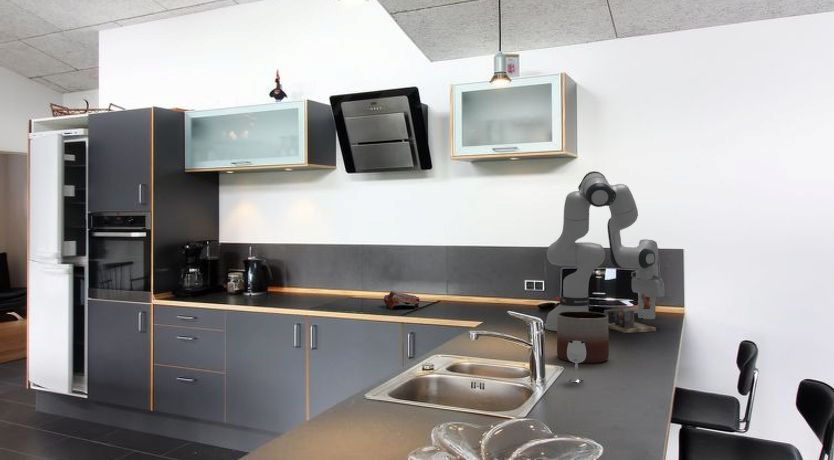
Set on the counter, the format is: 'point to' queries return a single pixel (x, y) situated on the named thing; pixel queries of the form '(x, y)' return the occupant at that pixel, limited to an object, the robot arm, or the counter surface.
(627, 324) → the press base
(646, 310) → the lever
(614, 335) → the counter surface
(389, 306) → the meat
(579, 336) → the planter
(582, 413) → the counter surface
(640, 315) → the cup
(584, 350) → the wineglass
